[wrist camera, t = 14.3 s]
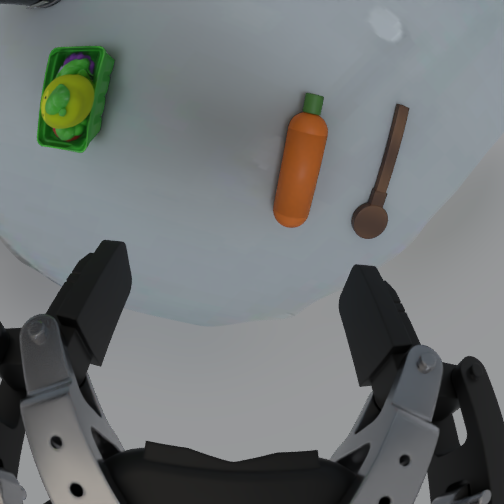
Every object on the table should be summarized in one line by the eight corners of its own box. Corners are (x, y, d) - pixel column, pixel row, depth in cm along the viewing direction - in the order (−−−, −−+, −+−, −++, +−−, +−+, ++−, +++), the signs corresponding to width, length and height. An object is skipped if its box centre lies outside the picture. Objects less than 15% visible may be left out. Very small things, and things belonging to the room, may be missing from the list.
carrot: (290, 89, 24) (301, 91, 21) (326, 97, 25) (341, 101, 22) (267, 215, 33) (273, 233, 29) (299, 218, 33) (308, 235, 30)
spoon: (383, 98, 24) (387, 99, 23) (417, 111, 25) (421, 113, 24) (346, 232, 34) (349, 236, 33) (377, 237, 34) (380, 241, 34)
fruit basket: (75, 48, 20) (10, 49, 10) (137, 50, 21) (80, 41, 12) (60, 134, 26) (0, 164, 17) (116, 144, 27) (61, 178, 18)
